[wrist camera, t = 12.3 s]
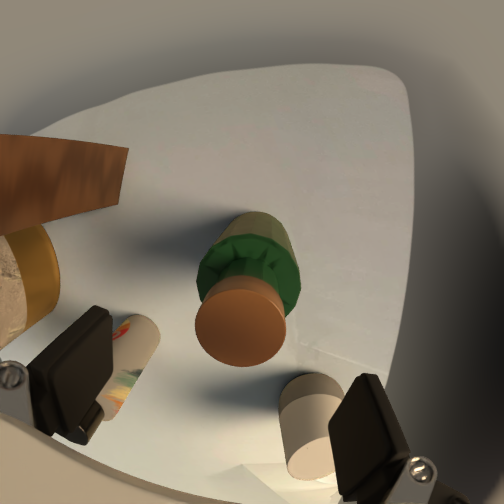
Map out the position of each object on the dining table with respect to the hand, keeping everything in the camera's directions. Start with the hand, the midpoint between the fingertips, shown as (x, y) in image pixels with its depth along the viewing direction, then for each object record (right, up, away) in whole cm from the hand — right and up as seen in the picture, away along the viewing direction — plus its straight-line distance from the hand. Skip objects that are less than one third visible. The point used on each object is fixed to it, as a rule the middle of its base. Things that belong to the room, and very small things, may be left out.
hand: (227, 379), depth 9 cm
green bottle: (+1, +6, +23) cm, 23 cm away
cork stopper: (+1, +2, +9) cm, 9 cm away
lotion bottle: (-14, -6, +27) cm, 31 cm away
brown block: (-18, +15, +21) cm, 32 cm away
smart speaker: (+9, -15, +28) cm, 33 cm away
